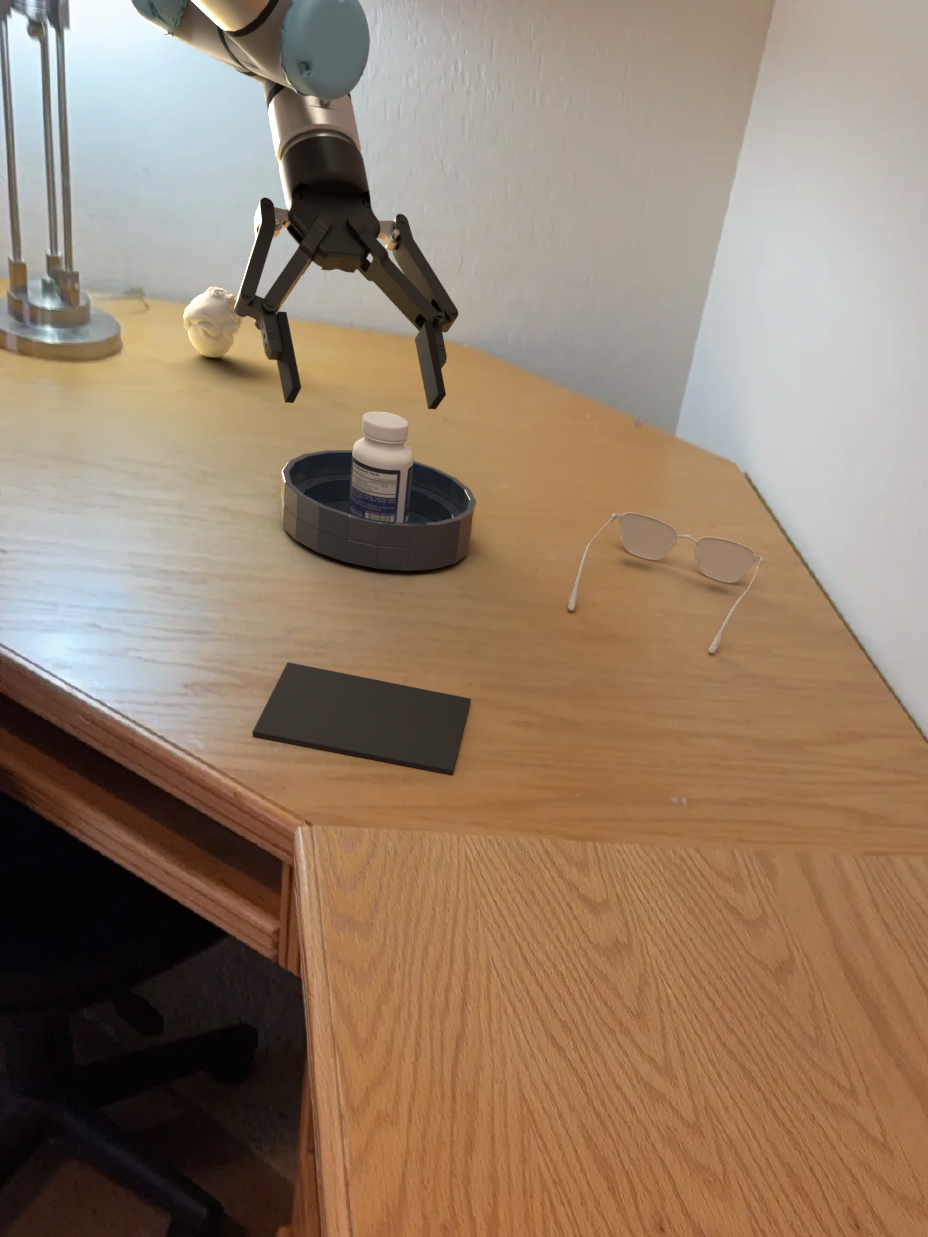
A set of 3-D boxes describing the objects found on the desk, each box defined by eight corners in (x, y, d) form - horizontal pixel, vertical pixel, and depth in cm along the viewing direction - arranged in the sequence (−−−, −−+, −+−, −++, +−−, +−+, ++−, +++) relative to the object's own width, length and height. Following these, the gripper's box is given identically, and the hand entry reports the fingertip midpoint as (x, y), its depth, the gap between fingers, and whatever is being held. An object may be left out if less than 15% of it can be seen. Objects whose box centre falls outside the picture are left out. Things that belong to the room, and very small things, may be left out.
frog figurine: (254, 362, 149) (255, 295, 144) (205, 367, 144) (205, 298, 139) (219, 345, 151) (219, 279, 146) (170, 349, 146) (169, 281, 142)
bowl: (261, 550, 111) (262, 498, 108) (303, 484, 124) (305, 436, 121) (457, 591, 113) (463, 541, 110) (478, 522, 126) (484, 475, 123)
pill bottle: (375, 514, 121) (384, 404, 114) (418, 535, 119) (430, 425, 113) (335, 524, 117) (342, 412, 111) (378, 547, 115) (388, 434, 109)
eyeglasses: (754, 590, 126) (766, 550, 124) (722, 659, 113) (734, 616, 110) (606, 546, 127) (615, 505, 125) (557, 609, 114) (565, 565, 111)
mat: (252, 736, 88) (252, 731, 88) (287, 666, 97) (287, 661, 96) (452, 775, 90) (453, 770, 90) (470, 703, 98) (471, 698, 98)
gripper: (186, 109, 105) (237, 369, 106) (464, 150, 116) (508, 384, 117) (170, 170, 111) (219, 413, 112) (435, 203, 123) (477, 423, 124)
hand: (367, 399), depth 115 cm, fingers open, 13 cm apart
